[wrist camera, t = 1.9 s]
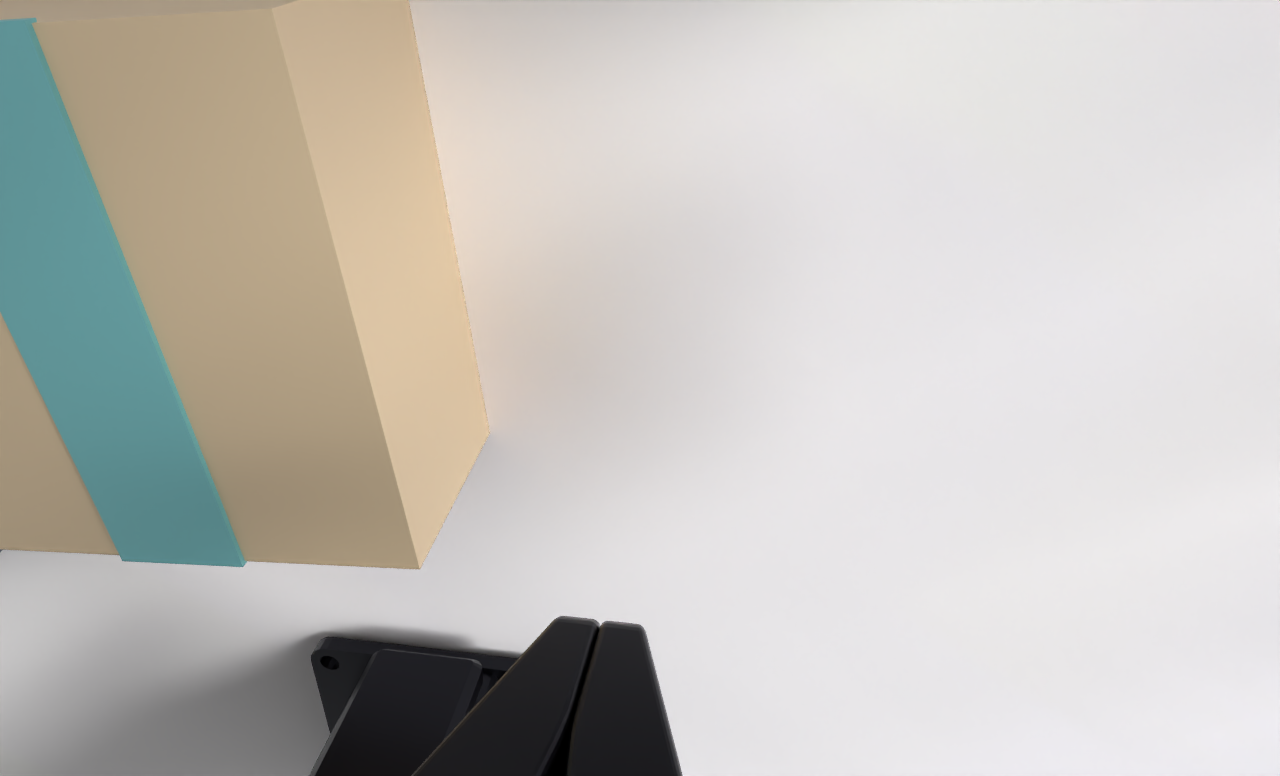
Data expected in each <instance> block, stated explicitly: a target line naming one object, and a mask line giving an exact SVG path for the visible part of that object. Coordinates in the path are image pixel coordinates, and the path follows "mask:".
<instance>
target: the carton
mask: <svg viewBox="0 0 1280 776" xmlns="http://www.w3.org/2000/svg"><path fill="white" fill-rule="evenodd" d="M489 434H490V431H489V425H488V420H487V415H486V409H485V404H484V399H483V394H482V388H481V383H480V378H479V372H478V367H477V362H476V356H475V351H474V346H473V340H472V335H471V330H470V324H469V319H468V314H467V309H466V303H465V298H464V293H463V287H462V282H461V277H460V271H459V266H458V261H457V255H456V250H455V245H454V239H453V234H452V229H451V224H450V218H449V213H448V208H447V202H446V197H445V192H444V186H443V181H442V176H441V170H440V165H439V160H438V154H437V149H436V144H435V139H434V133H433V128H432V123H431V117H430V112H429V107H428V101H427V96H426V91H425V85H424V80H423V75H422V69H421V64H420V59H419V54H418V48H417V43H416V38H415V32H414V27H413V22H412V16H411V11H410V6H409V0H0V549H4V550H25V551H46V552H67V553H88V554H109V555H120V557H121V559H122V561H131V562H152V563H172V564H192V565H213V566H233V567H243V566H244V565H245V564H246V562H247V561H255V562H276V563H297V564H317V565H338V566H359V567H380V568H401V569H420V568H421V566H422V564H423V562H424V560H425V558H426V557H427V555H428V553H429V551H430V549H431V547H432V545H433V543H434V541H435V539H436V537H437V535H438V533H439V531H440V529H441V527H442V525H443V523H444V521H445V519H446V518H447V516H448V514H449V512H450V510H451V508H452V506H453V504H454V502H455V500H456V498H457V496H458V494H459V492H460V490H461V488H462V486H463V484H464V482H465V481H466V479H467V477H468V475H469V473H470V471H471V469H472V467H473V465H474V463H475V461H476V459H477V457H478V455H479V453H480V451H481V449H482V447H483V445H484V444H485V442H486V440H487V438H488V436H489Z"/></svg>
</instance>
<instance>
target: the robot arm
mask: <svg viewBox="0 0 1280 776" xmlns="http://www.w3.org/2000/svg"><path fill="white" fill-rule="evenodd" d="M311 662H312V665H313V669H314V673H315V677H316V681H317V684H318V688H319V692H320V696H321V700H322V703H323V707H324V711H325V715H326V719H327V722H328V726H329V730H330V736H329V738H328V740H327V742H326V744H325V746H324V748H323V750H322V752H321V754H320V756H319V758H318V759H317V761H316V763H315V765H314V767H313V769H312V771H311V773H310V775H309V776H683V775H682V772H681V768H680V764H679V760H678V756H677V752H676V748H675V744H674V740H673V737H672V733H671V729H670V725H669V721H668V717H667V713H666V709H665V705H664V702H663V698H662V694H661V690H660V686H659V682H658V678H657V674H656V670H655V666H654V663H653V659H652V655H651V651H650V647H649V643H648V639H647V635H646V632H645V630H644V628H643V627H642V626H641V625H639V624H632V623H623V622H614V621H605V622H604V623H602V625H601V626H600V624H599V623H598V622H597V621H596V620H594V619H587V618H578V617H569V616H560V617H558V618H556V619H555V620H554V621H552V623H551V624H550V625H549V626H548V627H547V628H546V629H545V630H544V631H543V632H542V633H541V635H540V636H539V637H538V638H537V639H536V640H535V641H534V642H533V643H532V644H531V645H530V647H529V648H528V649H527V650H526V651H525V652H524V653H523V654H522V655H521V656H520V657H519V659H513V658H505V657H496V656H488V655H479V654H471V653H463V652H454V651H446V650H437V649H429V648H421V647H412V646H404V645H395V644H387V643H379V642H370V641H362V640H353V639H345V638H336V637H326V638H324V639H321V641H320V642H319V643H318V645H317V647H316V648H315V650H314V652H313V653H312V655H311Z"/></svg>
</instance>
